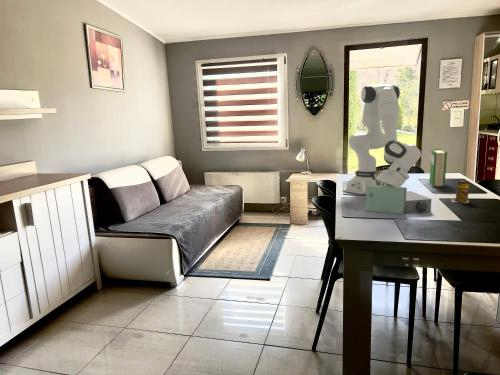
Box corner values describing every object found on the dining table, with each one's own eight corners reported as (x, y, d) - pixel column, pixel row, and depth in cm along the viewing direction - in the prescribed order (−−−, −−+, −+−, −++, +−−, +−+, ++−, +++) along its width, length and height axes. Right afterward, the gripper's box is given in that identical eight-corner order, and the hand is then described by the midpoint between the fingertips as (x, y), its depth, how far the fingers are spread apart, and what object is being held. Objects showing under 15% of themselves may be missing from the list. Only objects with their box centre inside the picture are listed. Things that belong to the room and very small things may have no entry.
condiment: (468, 203, 209) (470, 182, 207) (451, 202, 213) (452, 181, 211) (468, 200, 215) (470, 180, 213) (451, 199, 219) (453, 179, 217)
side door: (365, 211, 201) (365, 185, 199) (366, 209, 204) (366, 185, 201) (404, 214, 192) (406, 188, 189) (405, 213, 194) (406, 187, 191)
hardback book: (444, 187, 250) (447, 152, 245) (432, 187, 253) (434, 152, 248) (440, 182, 266) (443, 149, 261) (429, 182, 269) (431, 149, 264)
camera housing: (387, 204, 213) (387, 192, 212) (409, 202, 215) (410, 191, 213) (407, 214, 192) (408, 201, 190) (433, 212, 193) (433, 199, 192)
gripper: (383, 164, 208) (367, 183, 209) (403, 170, 188) (385, 190, 189) (390, 171, 210) (374, 190, 210) (411, 177, 190) (393, 198, 190)
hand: (379, 190), depth 199 cm, fingers closed
